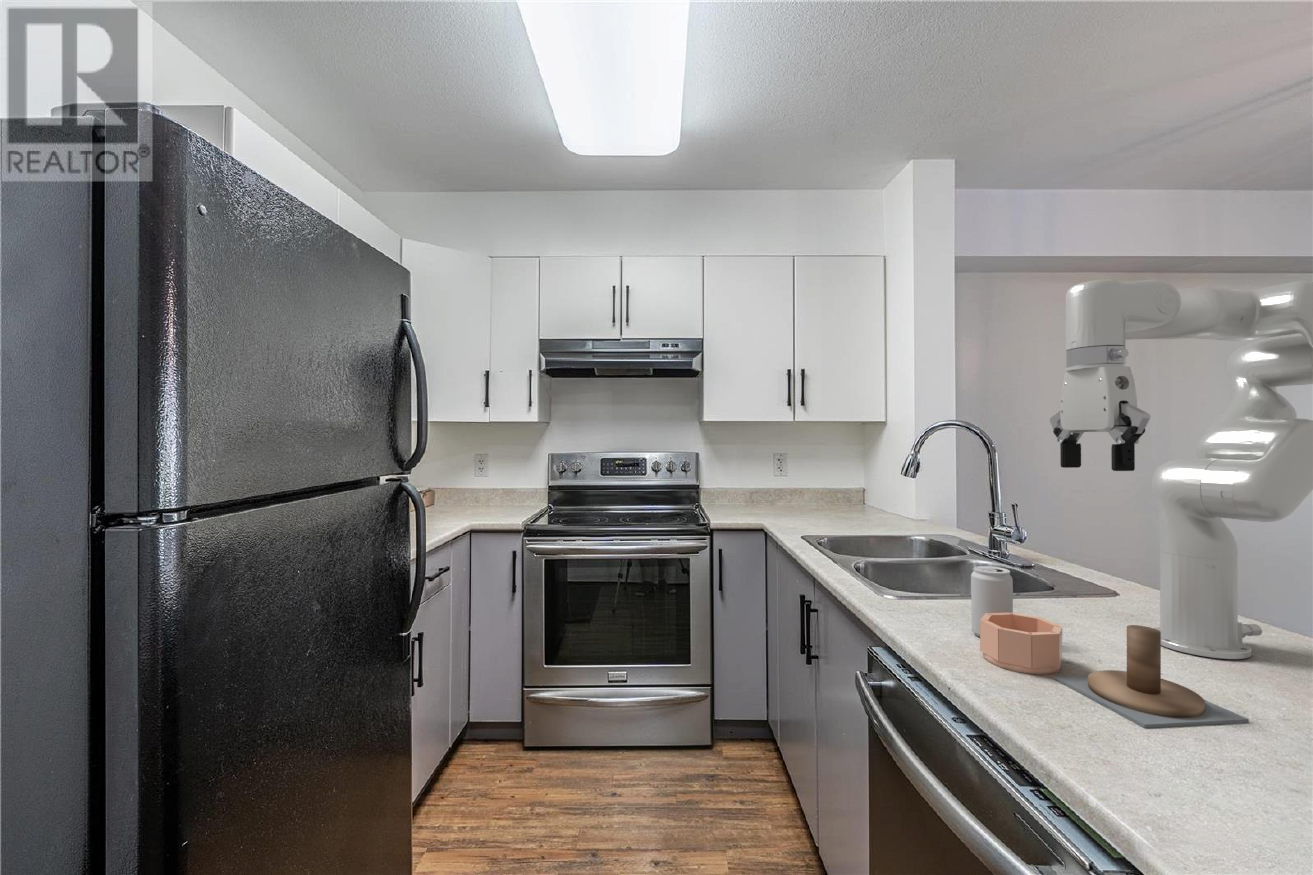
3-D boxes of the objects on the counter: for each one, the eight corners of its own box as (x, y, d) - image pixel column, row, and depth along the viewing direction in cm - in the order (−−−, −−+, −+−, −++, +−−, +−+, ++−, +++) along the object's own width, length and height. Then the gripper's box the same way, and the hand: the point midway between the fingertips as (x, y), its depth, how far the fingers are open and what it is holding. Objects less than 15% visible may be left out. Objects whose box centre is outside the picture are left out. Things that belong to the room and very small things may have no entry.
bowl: (1027, 647, 96) (1027, 611, 96) (1078, 673, 86) (1078, 633, 86) (968, 649, 96) (968, 613, 96) (1012, 676, 85) (1012, 635, 85)
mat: (1143, 675, 85) (1143, 673, 85) (1248, 722, 71) (1248, 719, 71) (1054, 679, 84) (1054, 676, 84) (1144, 727, 70) (1144, 724, 70)
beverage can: (1019, 644, 98) (1019, 573, 98) (978, 641, 99) (978, 572, 99) (1004, 631, 104) (1004, 565, 104) (966, 629, 106) (966, 564, 106)
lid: (1142, 675, 84) (1142, 613, 84) (1232, 715, 72) (1232, 643, 72) (1066, 679, 83) (1066, 617, 83) (1145, 720, 71) (1145, 647, 71)
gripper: (1170, 353, 82) (1170, 472, 82) (1073, 367, 100) (1073, 466, 100) (1122, 352, 82) (1122, 472, 82) (1032, 367, 99) (1032, 466, 99)
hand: (1095, 469), depth 91 cm, fingers open, 9 cm apart
